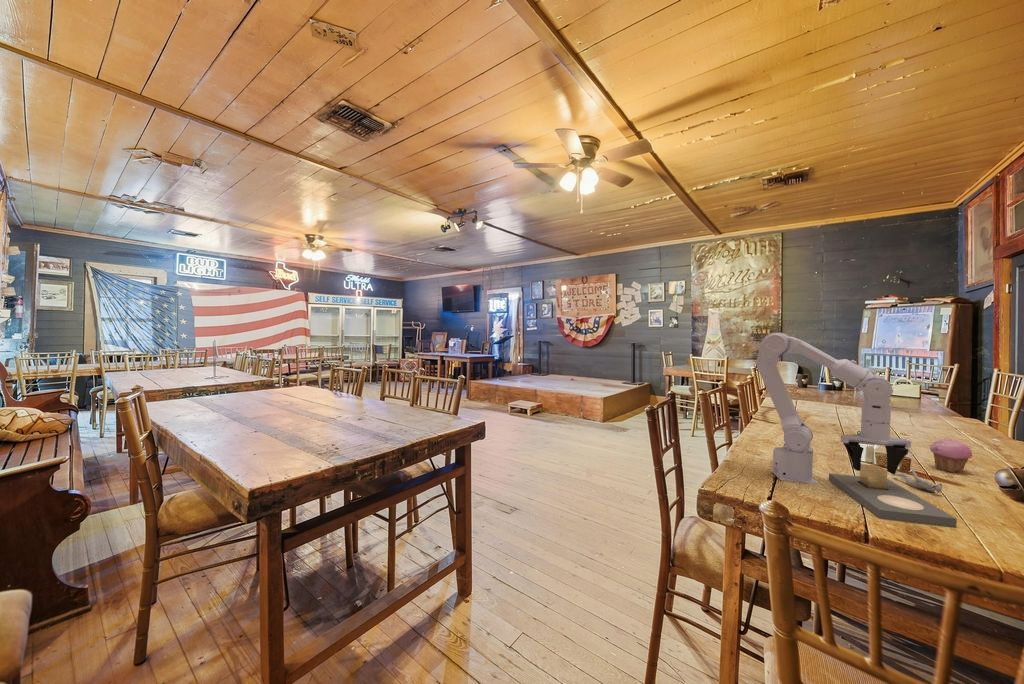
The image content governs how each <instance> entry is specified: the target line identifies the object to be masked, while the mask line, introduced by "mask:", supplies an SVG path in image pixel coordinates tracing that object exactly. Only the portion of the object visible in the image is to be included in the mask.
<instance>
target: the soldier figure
mask: <svg viewBox="0 0 1024 684" xmlns="http://www.w3.org/2000/svg"><path fill="white" fill-rule="evenodd" d="M910 469H911V474H912V476H913V478H914V479H913V478H912V477H911V476H910V475H909V474H908V473H903V472H902V473H899V470H896V473H895V474H891V476H894V477H895V476H896V477H900V478H899V481H903V482H905V483H907V484H909V486H911V487H913V488H916V489H921V490H926V491H930V492H931V493H935V492H936V493H937V494H939V493H941V492H942V490H943V483H942V482H939V483H935V482H934V483H933V482H932V481H928V480H926V479H924V478H921V477H919V476H918V475H917V473H916V469H915V468H914V467H910Z"/></svg>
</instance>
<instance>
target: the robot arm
mask: <svg viewBox="0 0 1024 684" xmlns="http://www.w3.org/2000/svg"><path fill="white" fill-rule="evenodd" d="M786 352H787V354H792V355H793V354H795V355H797V354H798V355H802V356H803V357H806V358H807V359H810V360H811V361H813V362H815V363H817V364H819V365H821V366H823V367H825V368H827V369H828V370H830V376H832V377H833V378H835V379H837V380H839V381H841V382H843V383H845V384H847V385H849V386H850V387H852V388H854V389H856V390H862V394H863V401H862V403H861V414H860V415H861V419H860V434H843V433H842V434H840V442H841V443H843V445H844V447H845V449H846V451H847V453H848V456H849V458H850V461H851V465H852V469H854V470H855V471H857V472H860V469H861V464H862V456H863V455H862V454H863V453H864V449H865V448H864V447H863V446H861V444H862V445H864V444H865V445H874V446H875V445H876V446H885V451H886V470H887V473H890V474H891V475H892V474H895V473H896V470H897V469H898V467H899V465H900V463H901V462H902V460H904V458H905V457H906V456H907V455H908V454H909V449H911V448H912V440H911V439H907V438H901V437H900V438H899V437H892V436H891V417H892V415H891V414H892V411H891V410H892V405H891V401H892V400H891V396H892V395H893V393H894V389H893V386H892V384H891V383H890V382H889V380H888V379H886V378H885V377H884V376H882V375H878V374H877V372H876V371H874V370H872V371H870V370H868V369H866V368H864V367H863V366H860V365H859V364H857V363H858V361H856V360H855V359H851V360H849V359H848V358H843V359H837V358H834V357H833V356H831V355H830V354H827V353H826V352H824V351H823V350H820V349H819V348H816V347H815V346H813V345H811V344H809V343H808V342H806V341H804V340H802V339H799V338H797V337H794V336H789V335H788V334H786V333H785V332H771V333H768V334H767V335H765V337H764V338H763V339H762V341H761V342H760V343H759V348H758V354H757V357H756V361H755V364H756V367H757V370H758V372H759V374H760V377H761V380H762V381H763V384H764V386H765V388H766V390H767V392H768V394H769V395H768V396H769V397H770V399H771V401H772V404H773V406H774V408H775V410H776V412H777V414H778V417H779V419H780V423H781V428H782V431H783V441H784V444H783V446H780V447H779V446H778V447H774V449H773V452H772V470H771V473H773V474H774V476H775V477H777V478H778V479H779V480H780V481H781V482H782V481H789V482H797V483H798V482H800V483H808V484H816V485H817V484H819V482H818V481H817V480H816V479H814V477H813V471H814V470H813V469H814V468H813V467H814V461H813V460H814V448H813V447H811V442H812V441H813V438H814V435H813V434H814V433H813V431H812V429H811V428H810V427H809V426H807V425H806V424H805V423H804V420H803V418H802V416H800V414H799V413H798V411H797V408H796V406H795V404H794V402H793V400H792V397H791V395H790V393H789V390H788V388H787V386H786V385H785V382H784V380H783V378H782V375H781V374H780V371H779V369H778V367H777V364H778V362H779V361H780V360H781V357H782V356H783V355H784V354H785V353H786ZM897 471H898V470H897Z"/></svg>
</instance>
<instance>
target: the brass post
mask: <svg viewBox="0 0 1024 684" xmlns="http://www.w3.org/2000/svg"><path fill="white" fill-rule="evenodd" d="M859 476H860V482H859V483H860V484H862V485H863V486H865V487H866V488H872V489H882V490H886V489H887V479H888V471H887V469H885V468H883V467H881V466H880V465H875V464H865V463H861V469H860V471H859Z"/></svg>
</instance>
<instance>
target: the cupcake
mask: <svg viewBox="0 0 1024 684" xmlns="http://www.w3.org/2000/svg"><path fill="white" fill-rule="evenodd" d="M929 450H930V452H932V453H933V454H932V455H933V458H934V466H935V468H936V469H939V470H940V469H941V470H940V471H945V472H949V473H955V472H958V473H962V472H963V471H964V468H965V467H966V464H967V462H968V461H969V459H971V458H972V457H973V452H972V448H970V447H969V446H968V445H967V444H965V443H963V442H962V441H958V440H954V439H948V438H947V439H946V438H942V439H940V438H939V439H938V440H936V441H934V442H933V443H932V444H931V445H930V446H929Z"/></svg>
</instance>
